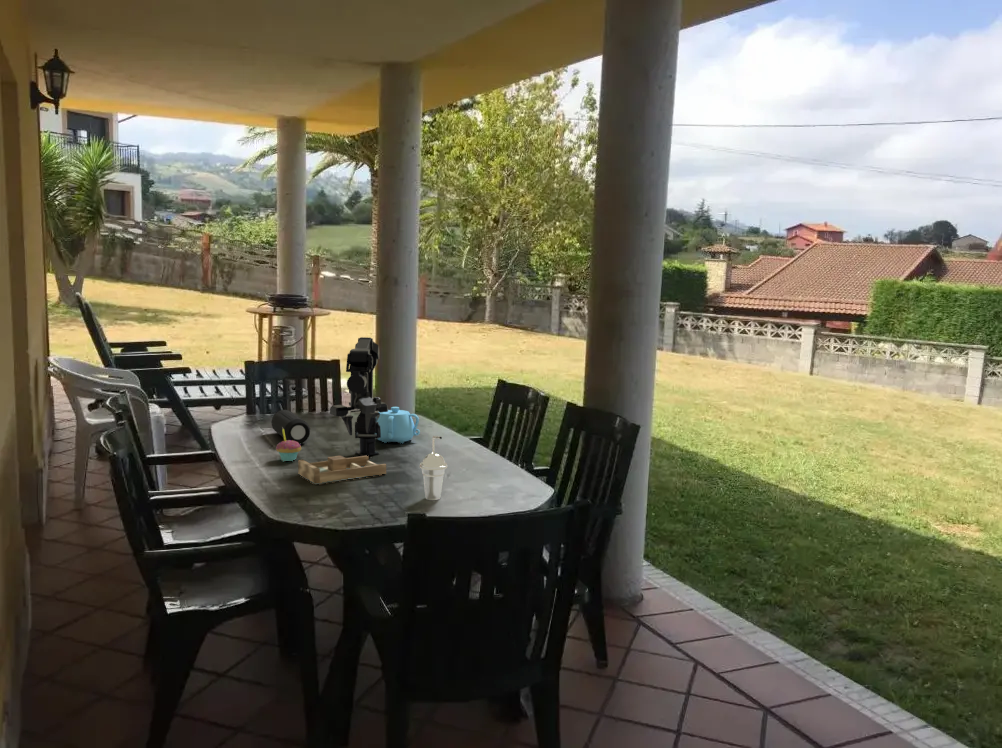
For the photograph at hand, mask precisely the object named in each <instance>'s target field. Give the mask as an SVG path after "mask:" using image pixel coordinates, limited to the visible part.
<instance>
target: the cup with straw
mask: <svg viewBox="0 0 1002 748" xmlns="http://www.w3.org/2000/svg"><path fill="white" fill-rule="evenodd" d="M442 438H443V437H442V436H436V435H433V436H432V438H431V441H432V443H431V447H432V448H431V453H428V454H426V455H425V456H424V457H423V458H422V461H421V462H420V463H419V465H418V466H419V468H420V469H421V473H422V476H423V484H424V485H423V488H424V494H425V499H426V500H429V501H438V500H440V499H441V495H442V490H443V489H442V488H443V480H444V476H445V472H446V469H447V468H448V463H447V462H446V461H445V459H444V457H443V455H441V454H439V453H437V452H435V445H436V443H435V441H436V439H438V440H442Z"/></svg>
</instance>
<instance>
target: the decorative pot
mask: <svg viewBox="0 0 1002 748" xmlns="http://www.w3.org/2000/svg"><path fill="white" fill-rule="evenodd" d="M378 413H380V415H378V416H379V417H377V422H379V425H380V429H381V438H378V439H377V440H378V441H380V442H381V443H382V442H384V443H383V444H387V442H388V443H391V442H393V443H396V442H397V444H398V443H400V444H401V443H402V444H403V443H404V444H405V442H409V441H410V440H412V439H413V437H414V436H417V437H418V436H419V435H420V433H421V430H420V429H418V426H419V422H420V418H419V416H418V415H417V414H416V413H410V411H408V410H403V409H400V407H399V406H392V407H390V409H388V412H379V411H378ZM413 417H414V418H415V423H414V419H413ZM416 431H417V432H416ZM375 434H377V433H375ZM402 444H401V445H402Z"/></svg>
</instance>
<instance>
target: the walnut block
mask: <svg viewBox="0 0 1002 748" xmlns="http://www.w3.org/2000/svg"><path fill="white" fill-rule="evenodd" d="M346 458H347V457H344V456H343V455H335V456H327V461H328V469H329V470H331V471H336V470H343V469H346Z"/></svg>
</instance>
